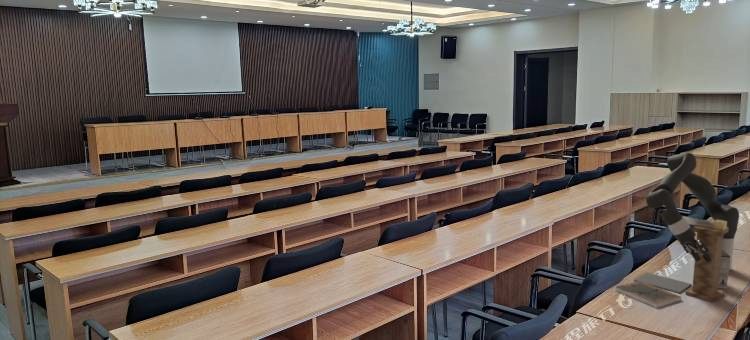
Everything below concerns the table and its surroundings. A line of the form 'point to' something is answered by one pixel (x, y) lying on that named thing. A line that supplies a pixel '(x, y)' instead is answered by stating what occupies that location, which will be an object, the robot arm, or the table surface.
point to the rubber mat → (663, 282)
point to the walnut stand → (708, 265)
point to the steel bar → (707, 223)
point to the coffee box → (724, 270)
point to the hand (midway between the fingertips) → (704, 260)
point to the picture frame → (648, 294)
